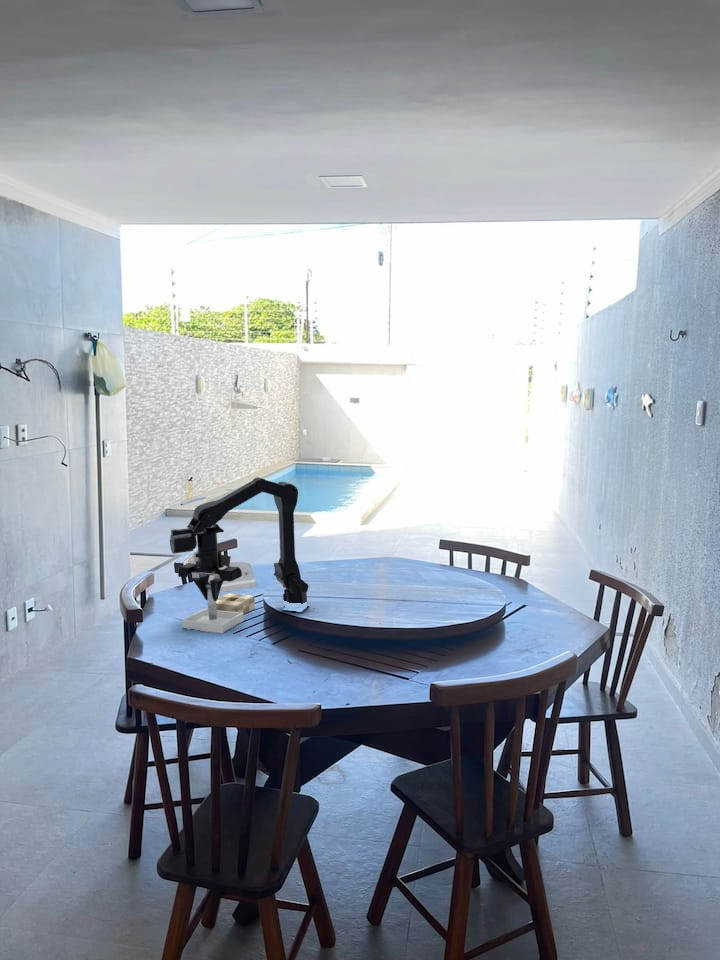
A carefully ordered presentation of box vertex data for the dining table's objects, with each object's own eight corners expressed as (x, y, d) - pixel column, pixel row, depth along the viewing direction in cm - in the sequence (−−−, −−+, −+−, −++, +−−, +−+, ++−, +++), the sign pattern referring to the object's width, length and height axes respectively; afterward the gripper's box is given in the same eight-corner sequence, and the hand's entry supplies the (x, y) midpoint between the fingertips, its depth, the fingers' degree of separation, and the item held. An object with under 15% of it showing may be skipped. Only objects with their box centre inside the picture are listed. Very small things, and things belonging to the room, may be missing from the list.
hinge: (209, 594, 257) (205, 564, 258) (207, 595, 261) (203, 566, 262) (258, 586, 263) (253, 557, 265) (254, 587, 267) (250, 559, 269)
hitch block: (255, 608, 240) (254, 595, 239) (237, 618, 231) (236, 605, 230) (227, 605, 244) (227, 593, 243) (209, 615, 235) (208, 602, 234)
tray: (243, 621, 228) (243, 613, 228) (223, 633, 218) (222, 625, 218) (204, 616, 234) (203, 608, 233) (182, 628, 224) (181, 620, 224)
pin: (220, 617, 227) (218, 582, 225) (214, 621, 224) (211, 585, 222) (211, 616, 228) (208, 581, 226) (205, 620, 225) (202, 584, 223)
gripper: (250, 543, 226) (253, 594, 229) (197, 540, 234) (201, 589, 236) (229, 553, 216) (233, 606, 218) (174, 549, 223) (179, 600, 226)
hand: (211, 600), depth 225 cm, fingers open, 3 cm apart
